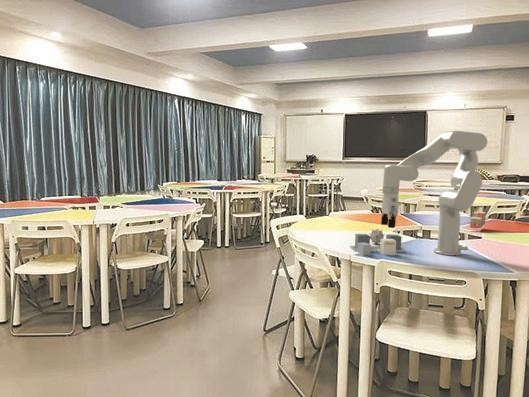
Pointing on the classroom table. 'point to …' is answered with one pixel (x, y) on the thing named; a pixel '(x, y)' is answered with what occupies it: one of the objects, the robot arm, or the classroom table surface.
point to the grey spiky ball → (376, 236)
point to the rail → (366, 239)
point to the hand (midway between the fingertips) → (387, 226)
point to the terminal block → (364, 249)
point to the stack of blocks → (478, 219)
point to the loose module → (388, 246)
